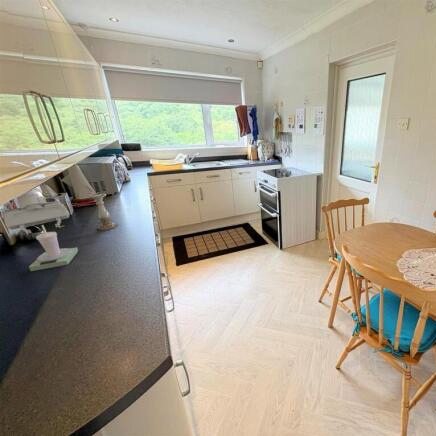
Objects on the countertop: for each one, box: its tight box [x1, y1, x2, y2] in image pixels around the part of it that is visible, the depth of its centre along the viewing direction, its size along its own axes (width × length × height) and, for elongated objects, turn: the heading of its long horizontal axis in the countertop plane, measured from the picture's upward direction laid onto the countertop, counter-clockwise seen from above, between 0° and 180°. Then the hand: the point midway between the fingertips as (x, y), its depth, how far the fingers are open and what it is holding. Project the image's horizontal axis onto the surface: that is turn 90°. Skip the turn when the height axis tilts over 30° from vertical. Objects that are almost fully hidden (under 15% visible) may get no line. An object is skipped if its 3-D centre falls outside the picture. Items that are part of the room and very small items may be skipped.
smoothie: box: [35, 224, 60, 256], centre depth 101 cm, size 6×6×14 cm
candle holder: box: [88, 192, 117, 231], centre depth 134 cm, size 9×9×20 cm
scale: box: [28, 246, 79, 272], centre depth 103 cm, size 12×13×3 cm
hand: (44, 230), depth 105 cm, fingers open, 8 cm apart
